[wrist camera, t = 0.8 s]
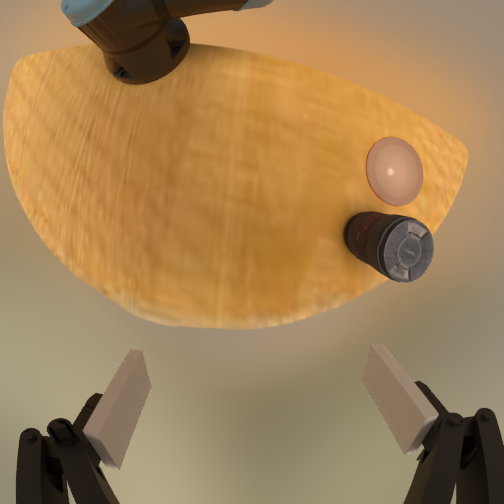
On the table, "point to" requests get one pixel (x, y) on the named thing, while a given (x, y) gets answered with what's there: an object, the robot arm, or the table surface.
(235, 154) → the table surface
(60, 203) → the table surface
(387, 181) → the plate
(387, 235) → the camera lens
